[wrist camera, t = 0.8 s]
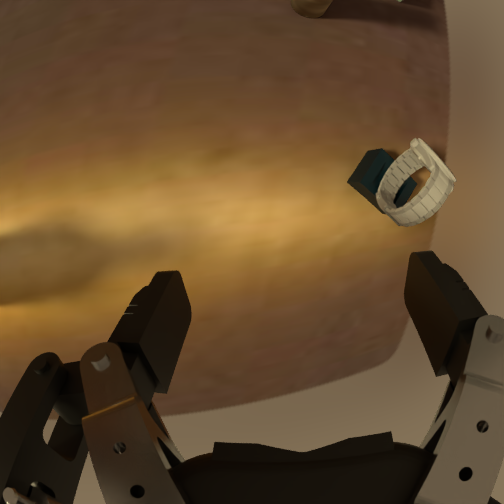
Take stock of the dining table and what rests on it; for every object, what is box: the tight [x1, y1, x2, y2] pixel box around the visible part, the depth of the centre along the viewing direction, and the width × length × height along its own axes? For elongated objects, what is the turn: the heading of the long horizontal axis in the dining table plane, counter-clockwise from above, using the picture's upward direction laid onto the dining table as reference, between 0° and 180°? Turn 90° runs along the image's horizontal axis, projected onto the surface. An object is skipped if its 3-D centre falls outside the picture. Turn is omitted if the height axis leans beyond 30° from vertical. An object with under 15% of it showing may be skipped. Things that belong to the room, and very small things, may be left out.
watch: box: [347, 138, 457, 227], centre depth 25 cm, size 6×8×11 cm
